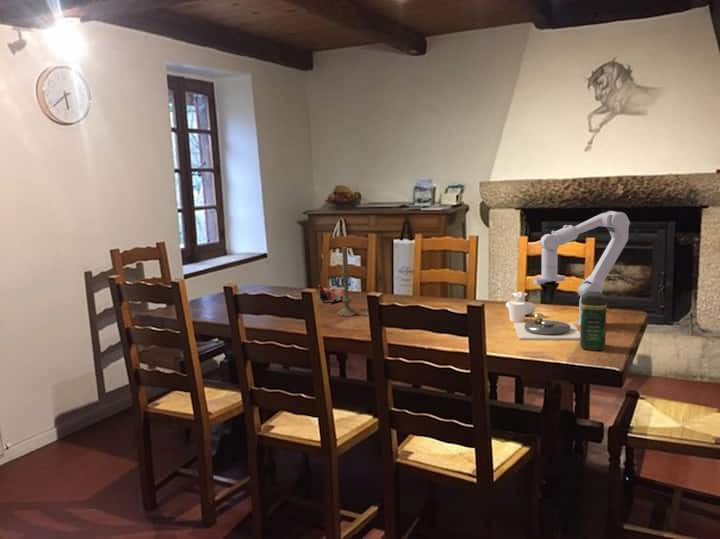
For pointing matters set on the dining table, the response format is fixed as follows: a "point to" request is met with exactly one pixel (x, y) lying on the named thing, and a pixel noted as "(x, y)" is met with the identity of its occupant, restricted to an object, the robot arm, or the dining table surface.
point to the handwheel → (546, 326)
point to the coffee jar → (593, 321)
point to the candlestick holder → (346, 285)
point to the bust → (520, 298)
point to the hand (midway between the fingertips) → (549, 301)
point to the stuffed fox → (330, 294)
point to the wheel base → (526, 335)
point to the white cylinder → (517, 311)
